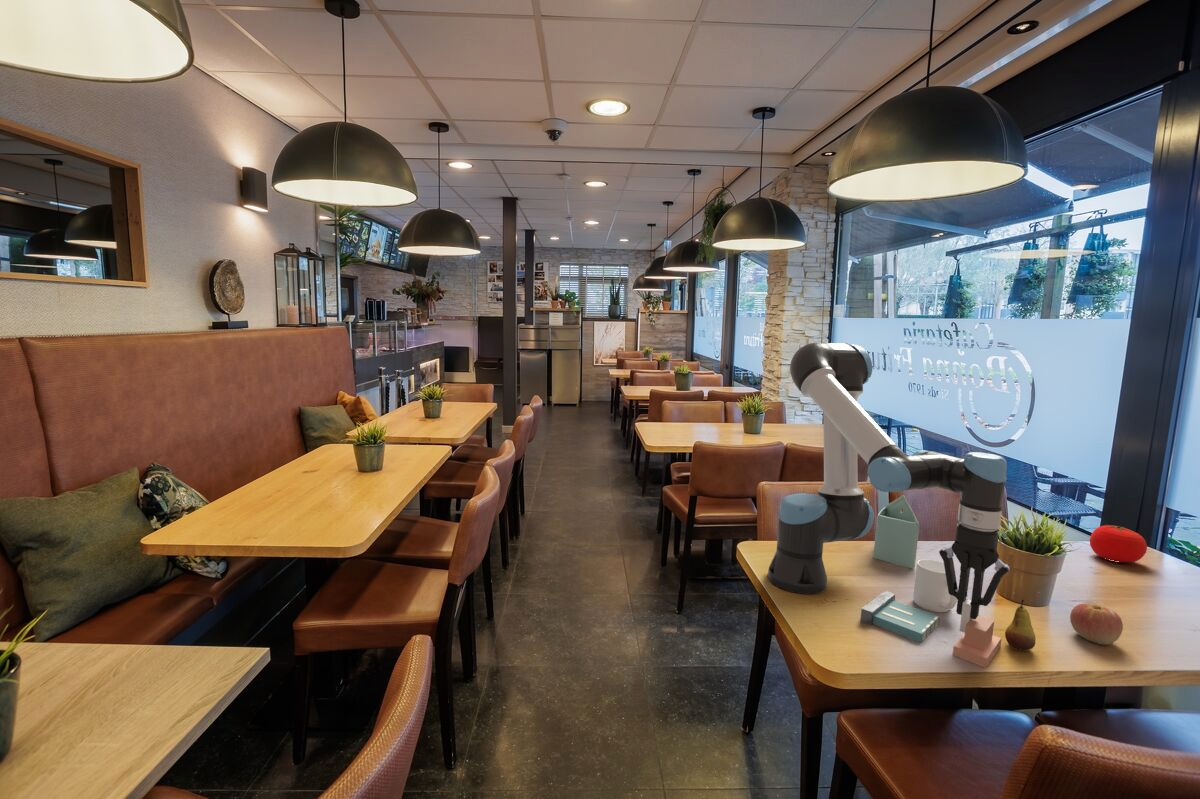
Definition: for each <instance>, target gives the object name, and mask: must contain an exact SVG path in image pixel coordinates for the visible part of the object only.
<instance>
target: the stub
mask: <svg viewBox="0 0 1200 799" xmlns="http://www.w3.org/2000/svg"><path fill="white" fill-rule="evenodd" d="M994 626H995V620H993V619H992V618H991V619H990V618H987V617H984V616H982V615H979V614H978V617H977V618H976V619H972V618H971V619H970V621H969V622H968V623H967V624H966V628H965V633H964V632H963V634H962V635H961V637H960V638H959V639H957V641H956V642H955V644H953V649H952V655H953V656H955V657H958V658H961V659H963V660H965V661H968V662H971V663H973V664H975V665H978V666H981V667H984V668H987V667H988V665H989V664H990V662H991V661H992V659H993V658H994V656H995V655H996V654H997V652H998V651H999V649H1000V648H1001V643H1002V637H999V636H997V635H994V628H995V627H994Z"/></svg>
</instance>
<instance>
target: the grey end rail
mask: <svg viewBox="0 0 1200 799" xmlns="http://www.w3.org/2000/svg"><path fill="white" fill-rule="evenodd" d="M893 600H894V601H896V593H893V592H890V591H888V590H884V591H883V592H882V593H880V594H878V595H877V596H876V597H874V599H872V600H871V601H869V602H868V603H867V604H865V605H864V606H863V607H861V612H860V618H859V619H860V620H859V622H861V623H864V624H865V625H869V626H872V625H874V624H873V616H874V615H875V614H876V613H878V612H879V611H880V610H881V609H883V608H884V607H885V606H886V605H888V604H889V603H890V602H891V601H893Z"/></svg>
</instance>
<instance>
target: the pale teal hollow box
mask: <svg viewBox="0 0 1200 799" xmlns="http://www.w3.org/2000/svg"><path fill="white" fill-rule="evenodd" d="M875 524H876V525H875V535H874V543H873V544H874V545H873V555H872V558H873V559H877V560H879V561H882V562H886V563H889V564H893V565H898V566H901V567H904V568H908V569H912V570H914V569H915V568H916V562H917V561H916V560H917V553H918V552H917V551H918V544H919V543H918V540H919V533H920V523H919V521H918V519H917V517H916V515H915V512H914V511H913V509H912V507H911V506H910V504H909V502H908V500H907V498H906V496H905V494H902V495H899V497H898V498H896V499H893V501H891V502H889V503H888V504H886V505H884V506H883V507H882V509H881V510H880V511H878V514H877V517H876V523H875ZM915 570H916V569H915Z"/></svg>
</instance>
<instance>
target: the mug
mask: <svg viewBox="0 0 1200 799" xmlns="http://www.w3.org/2000/svg"><path fill="white" fill-rule="evenodd" d="M915 568H916V569H915V578H914V588H913V602H914V604H916V605H917V607H920V608H921V609H924V610H925V611H930V612H932V613H933V612H935V613H947V612H949V611H950V610H952V609H954V607H956V606H957V601H958V600H957V598H956V597H955V596H953V595H950V594H949V593H948V586H947V580H946V574H945V567H944V561H943V562H942V561H939V560H934V559H919V560H917V561H916V567H915Z"/></svg>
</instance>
